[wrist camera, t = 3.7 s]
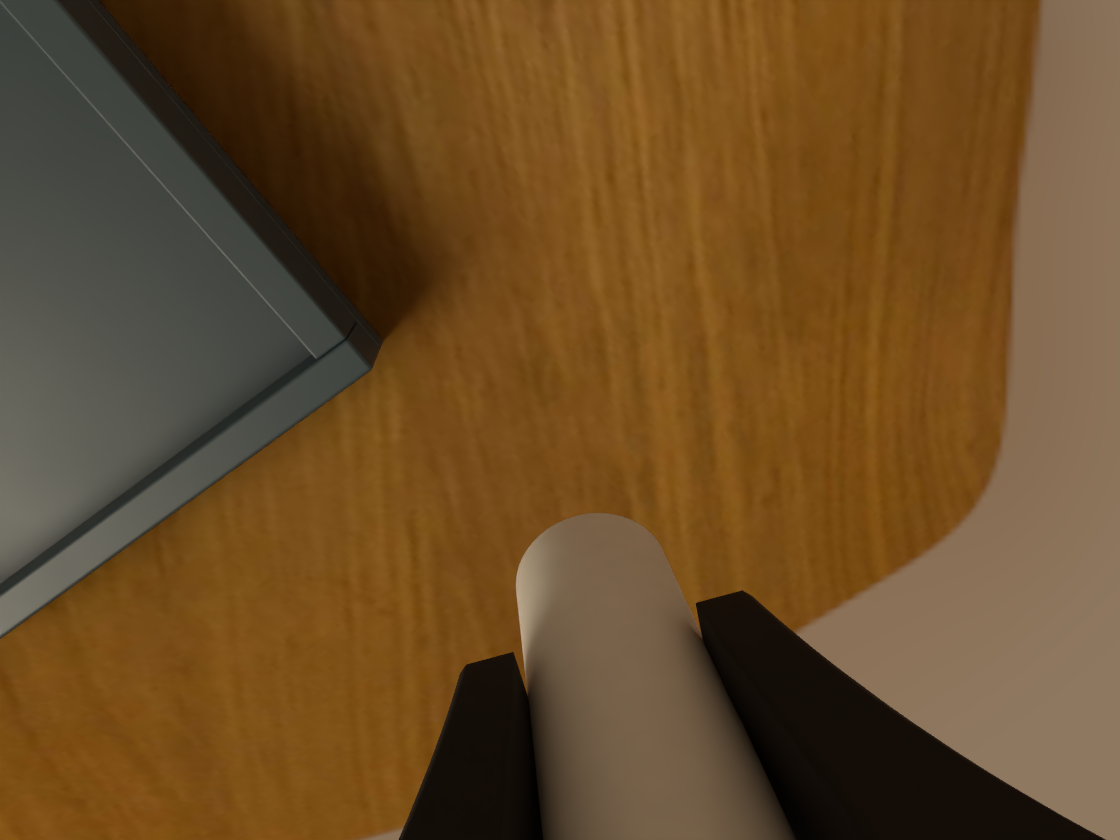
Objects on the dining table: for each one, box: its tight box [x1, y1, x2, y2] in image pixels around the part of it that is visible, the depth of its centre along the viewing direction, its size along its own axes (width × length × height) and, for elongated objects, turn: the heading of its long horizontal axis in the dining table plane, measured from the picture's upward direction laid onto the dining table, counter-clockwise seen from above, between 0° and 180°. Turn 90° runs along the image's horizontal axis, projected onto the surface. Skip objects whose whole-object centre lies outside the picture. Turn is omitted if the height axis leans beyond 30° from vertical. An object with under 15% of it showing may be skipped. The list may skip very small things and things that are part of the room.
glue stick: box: [516, 513, 796, 840], centre depth 7 cm, size 3×3×9 cm
